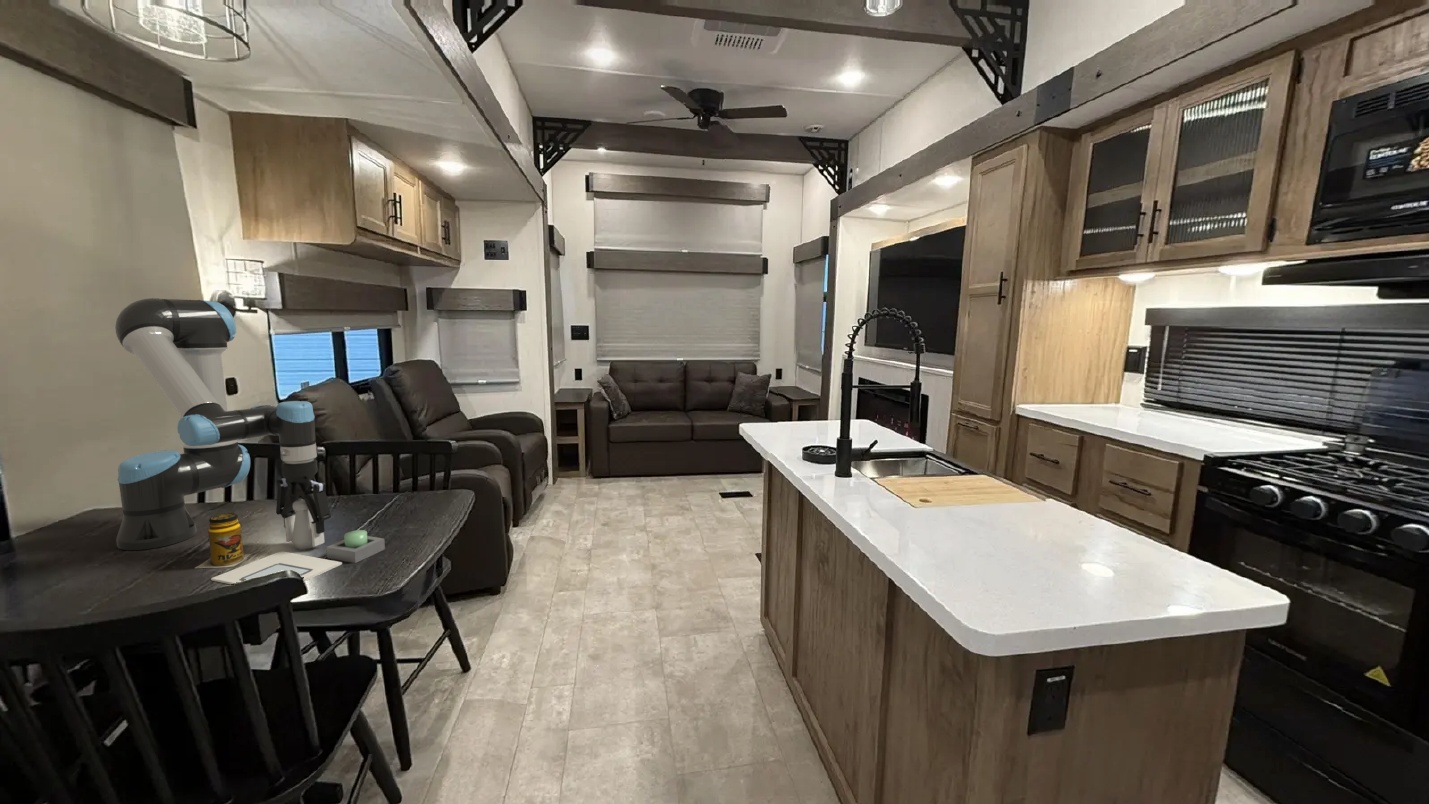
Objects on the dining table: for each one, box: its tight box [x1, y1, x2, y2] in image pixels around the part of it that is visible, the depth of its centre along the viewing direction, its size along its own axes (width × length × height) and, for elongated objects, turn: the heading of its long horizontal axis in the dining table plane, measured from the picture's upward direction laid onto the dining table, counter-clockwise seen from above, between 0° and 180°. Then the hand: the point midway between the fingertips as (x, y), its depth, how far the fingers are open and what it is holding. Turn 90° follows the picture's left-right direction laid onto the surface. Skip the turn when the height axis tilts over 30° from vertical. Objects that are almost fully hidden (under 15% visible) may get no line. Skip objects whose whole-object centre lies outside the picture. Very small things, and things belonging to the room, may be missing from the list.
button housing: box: [326, 535, 386, 564], centre depth 143 cm, size 9×9×3 cm
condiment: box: [194, 512, 252, 569], centre depth 135 cm, size 7×8×12 cm
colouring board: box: [210, 550, 343, 585], centre depth 131 cm, size 20×16×1 cm
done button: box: [343, 529, 368, 549], centre depth 142 cm, size 5×5×4 cm
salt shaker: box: [291, 498, 315, 551], centre depth 145 cm, size 6×6×13 cm
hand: (305, 542), depth 146 cm, fingers open, 8 cm apart
